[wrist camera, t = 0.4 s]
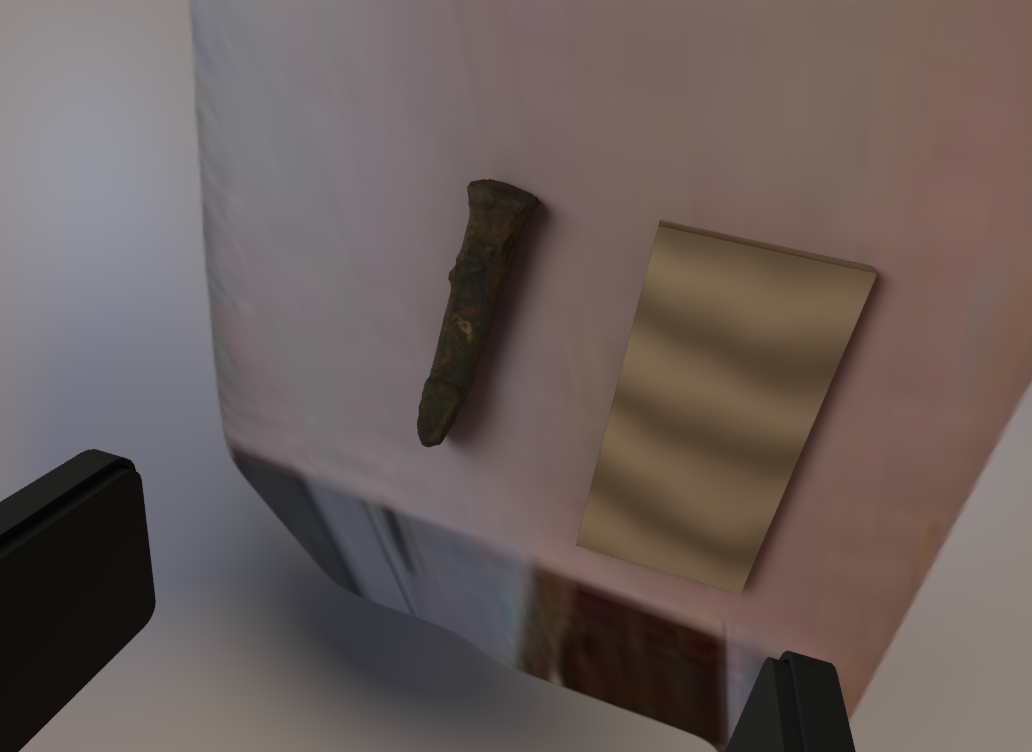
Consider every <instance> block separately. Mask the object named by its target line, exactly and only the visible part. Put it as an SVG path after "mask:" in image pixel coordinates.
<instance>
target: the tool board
mask: <svg viewBox="0 0 1032 752" xmlns="http://www.w3.org/2000/svg"><path fill="white" fill-rule="evenodd" d="M876 276H877V273H876V271H875V270H874V269H873V268H872V266H868V265H864V264H859V263H855V262H850V261H845V260H841V259H836V258H832V257H827V256H822V255H818V254H813V253H809V252H804V251H799V250H795V249H790V248H786V247H781V246H776V245H772V244H767V243H763V242H758V241H753V240H749V239H744V238H740V237H735V236H730V235H726V234H721V233H717V232H712V231H707V230H703V229H698V228H694V227H689V226H684V225H680V224H675V223H671V222H666V221H661V220H660V222H659V226H658V230H657V234H656V238H655V242H654V245H653V249H652V253H651V257H650V261H649V265H648V269H647V272H646V276H645V280H644V284H643V288H642V292H641V296H640V299H639V303H638V307H637V311H636V315H635V319H634V322H633V326H632V330H631V334H630V338H629V342H628V346H627V349H626V353H625V357H624V361H623V365H622V369H621V373H620V376H619V380H618V384H617V388H616V392H615V396H614V400H613V403H612V407H611V411H610V415H609V419H608V423H607V427H606V430H605V434H604V438H603V442H602V446H601V450H600V454H599V457H598V461H597V465H596V469H595V473H594V477H593V481H592V484H591V488H590V492H589V496H588V500H587V504H586V507H585V511H584V515H583V519H582V523H581V527H580V531H579V534H578V538H577V542H576V546H579V547H583V548H586V549H589V550H593V551H596V552H600V553H603V554H606V555H610V556H613V557H616V558H620V559H623V560H627V561H630V562H633V563H637V564H640V565H643V566H647V567H650V568H654V569H657V570H660V571H664V572H667V573H670V574H674V575H677V576H681V577H684V578H687V579H691V580H694V581H697V582H701V583H704V584H708V585H711V586H714V587H718V588H721V589H724V590H728V591H731V592H735V593H738V594H741V592H742V589H743V587H744V585H745V582H746V580H747V578H748V575H749V573H750V571H751V568H752V566H753V564H754V561H755V559H756V557H757V554H758V552H759V550H760V547H761V545H762V543H763V540H764V538H765V536H766V533H767V531H768V529H769V526H770V524H771V521H772V519H773V517H774V514H775V512H776V510H777V507H778V505H779V503H780V500H781V498H782V496H783V493H784V491H785V489H786V486H787V484H788V482H789V479H790V477H791V475H792V472H793V470H794V468H795V465H796V463H797V461H798V458H799V456H800V454H801V451H802V449H803V447H804V444H805V442H806V440H807V437H808V435H809V433H810V430H811V428H812V426H813V423H814V421H815V419H816V416H817V414H818V412H819V409H820V407H821V405H822V402H823V400H824V398H825V395H826V393H827V391H828V388H829V386H830V383H831V381H832V379H833V376H834V374H835V372H836V369H837V367H838V365H839V362H840V360H841V358H842V355H843V353H844V351H845V348H846V346H847V344H848V341H849V339H850V337H851V334H852V332H853V330H854V327H855V325H856V323H857V320H858V318H859V316H860V313H861V311H862V309H863V306H864V304H865V302H866V299H867V297H868V295H869V292H870V290H871V288H872V285H873V283H874V281H875V278H876Z"/></svg>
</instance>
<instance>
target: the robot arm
mask: <svg viewBox="0 0 1032 752" xmlns="http://www.w3.org/2000/svg"><path fill="white" fill-rule="evenodd" d="M155 601H156V600H155V592H154V583H153V574H152V565H151V557H150V548H149V540H148V530H147V522H146V514H145V504H144V495H143V487H142V479H141V476H140V474H139V473H138V472H136V469H135V466H134V464H133V462H132V461H131V460H129V459H126V458H123V457H120V456H116V455H113V454H110V453H106V452H103V451H99V450H96V449H92V450H87V451H84V452H82V453H80V454H78V455H77V456H75V457H74V458H72V459H70V460H69V461H67V462H65V463H64V464H62V465H60V466H59V467H57V468H55V469H54V470H52V471H50V472H49V473H47V474H45V475H44V476H42V477H41V478H39V479H37V480H36V481H34V482H33V483H31V484H29V485H28V486H26V487H24V488H23V489H21V490H19V491H18V492H16V493H14V494H13V495H11V496H9V497H8V498H6V499H4V500H3V501H1V502H0V752H19V751H20V750H21V748H23V747H24V746H25V745H26V744H27V743H28V741H30V740H31V739H32V738H33V737H34V736H35V735H36V734H37V733H38V732H39V731H40V730H41V729H42V728H43V727H44V726H45V725H46V724H47V723H48V722H49V721H50V720H51V719H52V718H53V717H54V716H55V715H56V714H57V713H58V712H59V711H60V710H61V709H62V708H63V707H64V706H65V705H66V704H67V703H68V702H69V701H70V700H71V699H72V698H73V697H74V696H75V695H76V694H77V693H78V692H79V691H80V690H81V689H82V688H83V687H84V686H85V685H86V684H87V683H88V682H89V681H90V680H91V679H92V678H93V677H94V676H95V675H96V674H97V673H98V672H99V671H100V670H101V669H102V668H103V667H104V666H105V665H106V664H107V663H108V662H109V661H110V660H111V659H113V658H114V656H115V655H117V654H118V653H119V652H120V651H121V649H123V648H124V647H125V645H127V644H128V643H129V642H130V641H131V640H132V638H134V637H135V636H136V634H137V633H139V632H140V631H141V630H142V629H143V628H144V626H145V625H146V624H147V623H148V622H149V620H150V618H151V617H152V614H153V612H154V609H155ZM725 752H856V751H855V747H854V743H853V739H852V734H851V730H850V726H849V722H848V717H847V713H846V709H845V705H844V700H843V696H842V692H841V687H840V683H839V679H838V675H837V672H836V669H835V667H834V666H833V664H832V663H829V662H825V661H822V660H818V659H815V658H811V657H808V656H805V655H801V654H798V653H794V652H791V651H785V652H784V653H783V654H782V656H781V657H780V659H779V660H777V659H774V658H770V657H768V658H767V659H766V660H765V662H764V664H763V666H762V668H761V670H760V673H759V675H758V677H757V680H756V682H755V684H754V687H753V689H752V691H751V693H750V696H749V698H748V700H747V703H746V705H745V707H744V710H743V712H742V714H741V717H740V719H739V721H738V723H737V726H736V728H735V730H734V733H733V735H732V737H731V740H730V742H729V744H728V747H727V749H726V751H725Z"/></svg>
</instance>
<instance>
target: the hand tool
mask: <svg viewBox="0 0 1032 752" xmlns="http://www.w3.org/2000/svg"><path fill="white" fill-rule="evenodd" d="M467 188H468V196H469V207H470V215H469V221H468V225H467V228H466V232H465V235H464V241H463V245H462V248H461V250H460V252H459V254H458V256H457V258H456V265H455V266H454V268H453V269H452V270H451V271H450V273H449V278H448V279H449V281H450V283H451V293H450V297H449V300H448V304H447V308H446V312H445V315H444V319H443V325H442V329H441V333H440V337H439V341H438V346H437V350H436V354H435V357H434V361H433V365H432V368H431V373H430V376H429V378H428V379H427V380H426V382H425V385H424V390H423V392H422V399H421V402H420V405H419V416H418V420H417V429H418V435H419V439H420V441H421V443H422V445H424V446H425V447H432V446H435V445H440V444H441V443H442V442H443V440H444V438H445V436H446V434H447V433H448V431H449V430H450V428H451V426H452V425H453V424H454V422H455V420H456V416H457V412H458V410H459V409H460V408H461V406H462V404H463V401H464V399H465V397H466V396H467V394H468V392H469V390H470V388H471V386H472V384H473V382H474V375H475V373H474V372H475V369H476V366H477V364H478V361H479V358H480V355H481V352H482V350H483V347H484V344H485V341H486V338H487V335H488V332H489V329H490V327H491V324H492V321H493V317H494V313H495V309H496V306H497V303H498V300H499V297H500V294H501V292H502V291H503V289H504V284H505V282H506V280H507V278H508V275H509V272H510V269H511V264H512V260H513V257H514V254H515V247H516V244H517V241H518V238H519V235H520V232H521V229H522V227H523V224H524V221H525V218H526V216H527V214H528V213H529V211H531V210H533V209H534V208H535V207H536V206H537V205H538V204H540V201H539V200H538V198H536V197H534V195H532V194H531V193H528V192H525V191H523V190H521V189H519V188H517V187H515V186H512V185H509V184H507V183H503V182H499V181H495V180H491V179H489V180H485V179H483V180H478V181H472V182H470V183H469V185H468V186H467Z"/></svg>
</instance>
